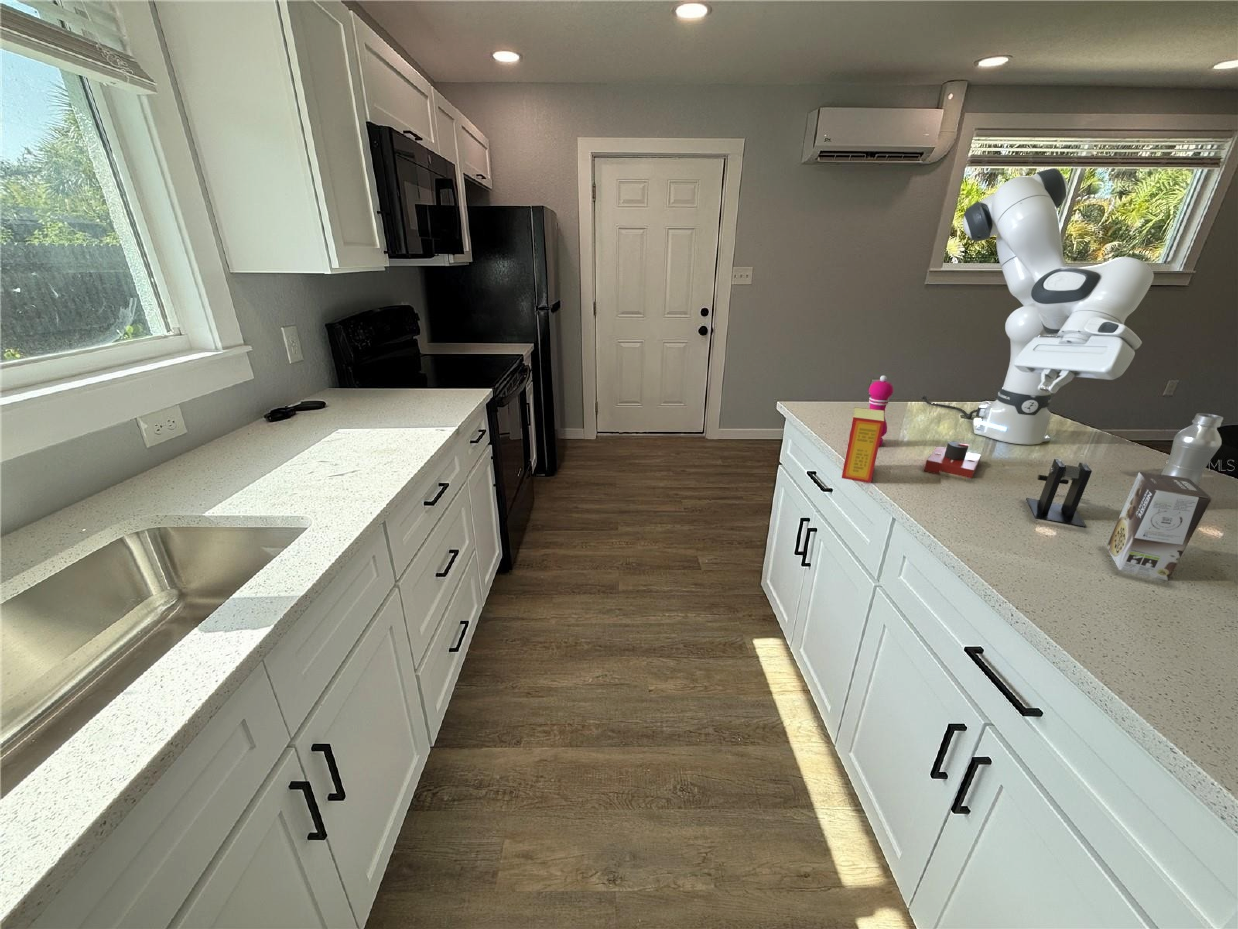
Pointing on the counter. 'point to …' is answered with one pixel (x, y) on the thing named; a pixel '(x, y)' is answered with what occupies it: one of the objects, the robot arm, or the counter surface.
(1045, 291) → the robot arm
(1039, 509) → the bracket
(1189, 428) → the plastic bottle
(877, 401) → the pepper mill
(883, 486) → the counter surface
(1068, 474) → the press lever
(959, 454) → the dial
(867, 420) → the baking soda box
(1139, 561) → the coffee box
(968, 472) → the dial panel
